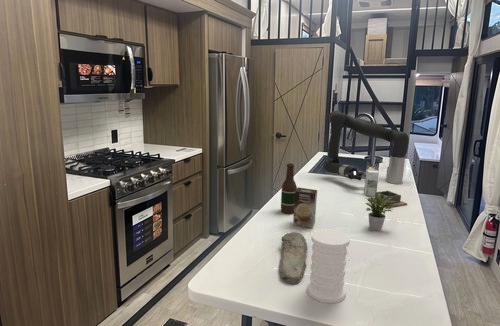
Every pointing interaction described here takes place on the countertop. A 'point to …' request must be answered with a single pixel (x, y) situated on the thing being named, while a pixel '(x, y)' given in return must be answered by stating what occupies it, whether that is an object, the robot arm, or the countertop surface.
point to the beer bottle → (288, 191)
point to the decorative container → (328, 266)
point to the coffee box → (305, 207)
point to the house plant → (377, 212)
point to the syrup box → (371, 182)
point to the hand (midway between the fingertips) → (366, 178)
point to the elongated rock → (293, 257)
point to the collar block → (390, 194)
